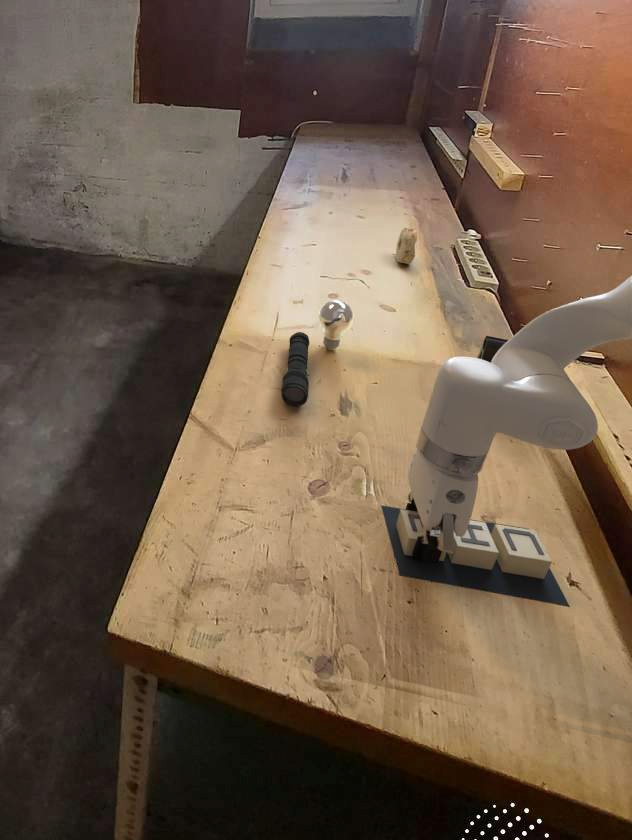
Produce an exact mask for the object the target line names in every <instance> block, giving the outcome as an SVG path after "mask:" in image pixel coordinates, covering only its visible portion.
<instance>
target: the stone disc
mask: <svg viewBox="0 0 632 840" xmlns="http://www.w3.org/2000/svg"><path fill="white" fill-rule="evenodd" d="M417 240H418V232H417V230H416V229H415V228H411V227H403V228H402V230H401V231H400V233H399V236H398V239H397V243H396V248H395V259H396V261H397V262H398V263H400V264H406V265H411V264H412V262H413V261H414V259H415V257H416V249H415V248H416V242H417Z"/></svg>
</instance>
